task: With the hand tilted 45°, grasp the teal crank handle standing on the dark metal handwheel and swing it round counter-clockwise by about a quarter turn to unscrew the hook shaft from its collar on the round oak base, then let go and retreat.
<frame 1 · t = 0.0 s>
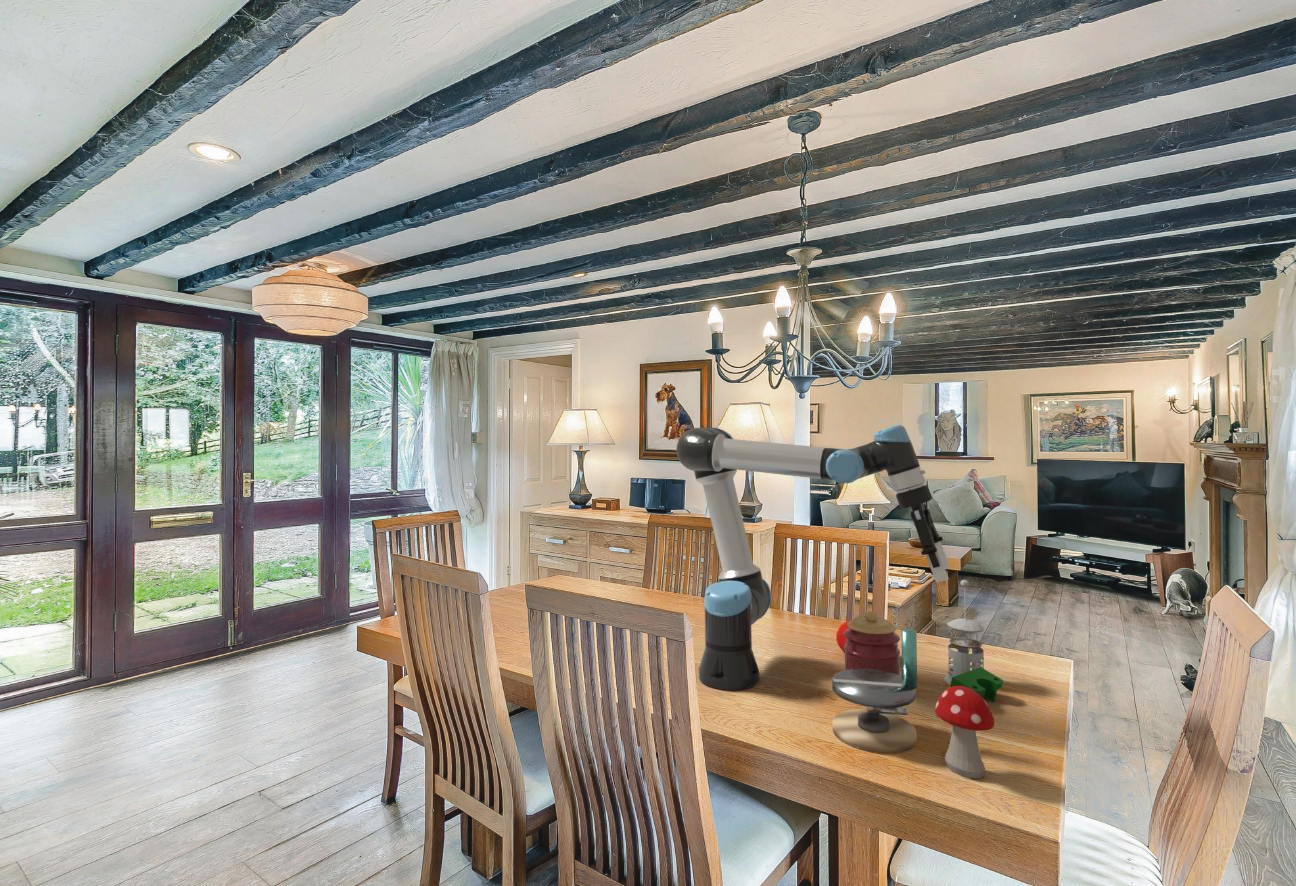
hand: (943, 574, 144), 28 cm above the table, tool tilted 20°, fingers open, 13 cm apart
handwheel: (873, 673, 125), point 12 cm above the table, hinge at 60.0°
decorative mushroom: (964, 771, 111), on the table
french press: (967, 681, 152), on the table
tomato: (860, 658, 169), on the table
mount: (873, 733, 126), on the table
canister: (872, 683, 151), on the table
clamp: (976, 701, 140), on the table
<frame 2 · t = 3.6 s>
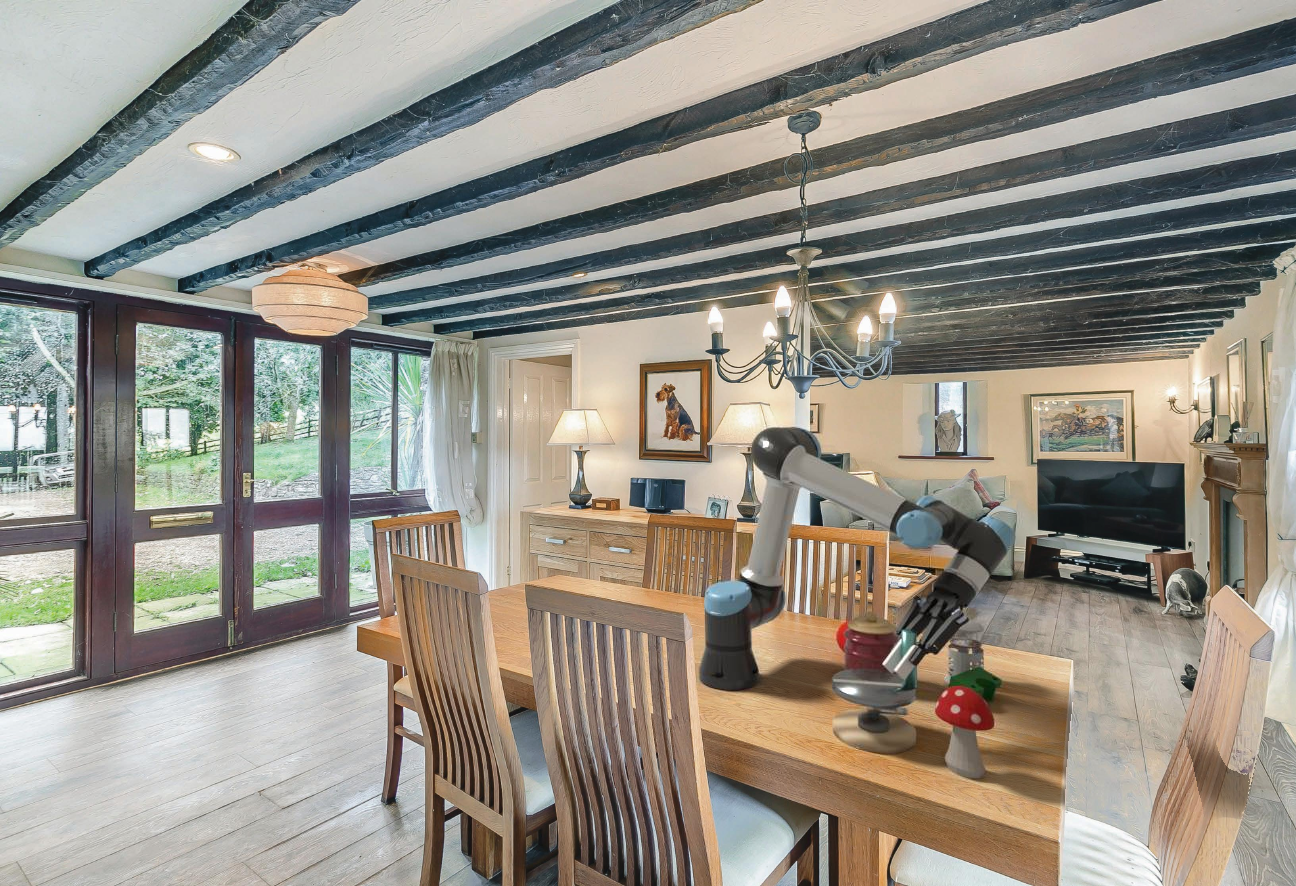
hand: (893, 671, 123), 14 cm above the table, tool tilted 45°, fingers closed on handwheel, 3 cm apart
handwheel: (873, 673, 125), point 12 cm above the table, hinge at 60.1°, touching gripper
everything else where it was.
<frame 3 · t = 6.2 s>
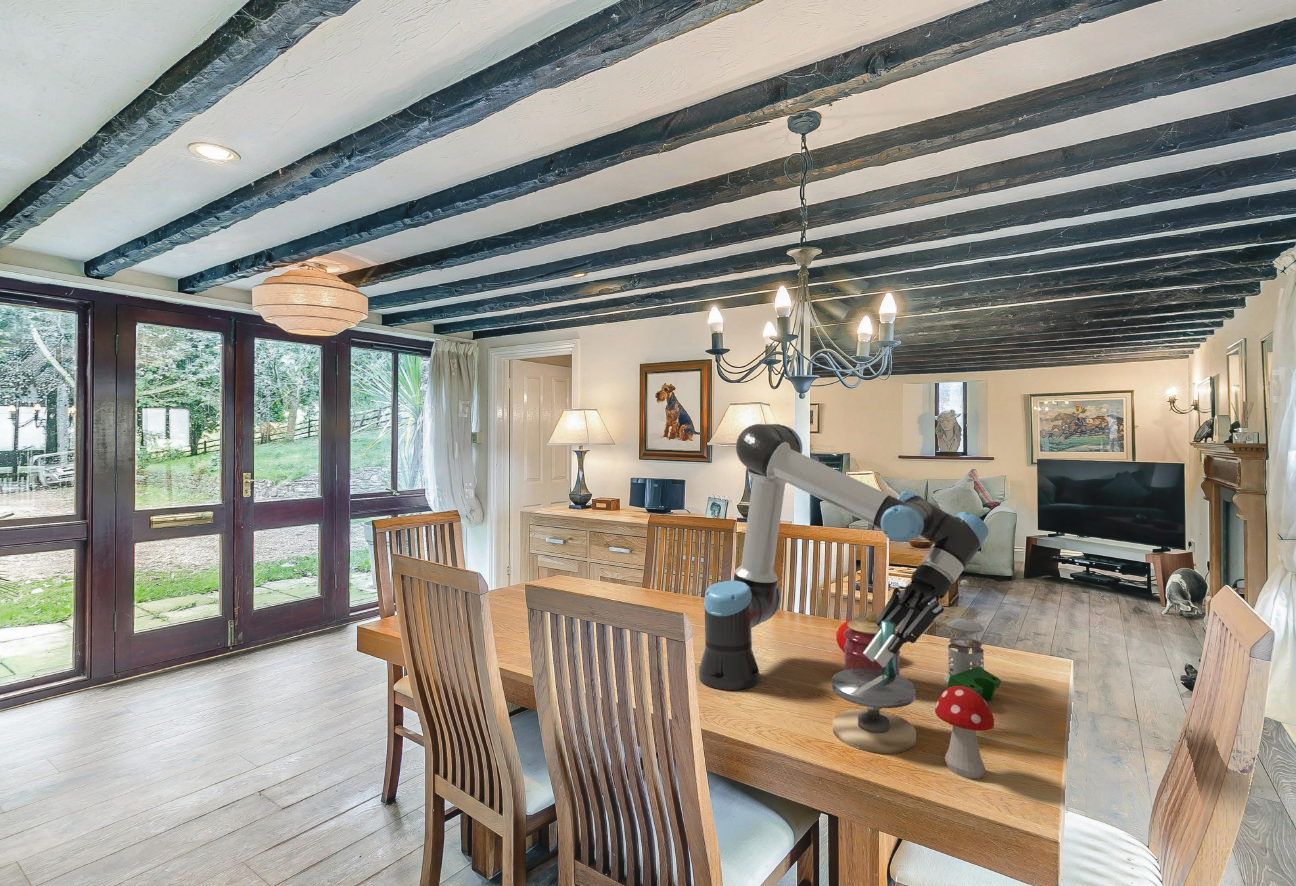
hand: (873, 659, 129), 14 cm above the table, tool tilted 45°, fingers closed on handwheel, 3 cm apart
handwheel: (873, 673, 126), point 12 cm above the table, hinge at 116.3°, touching gripper
everything else where it was.
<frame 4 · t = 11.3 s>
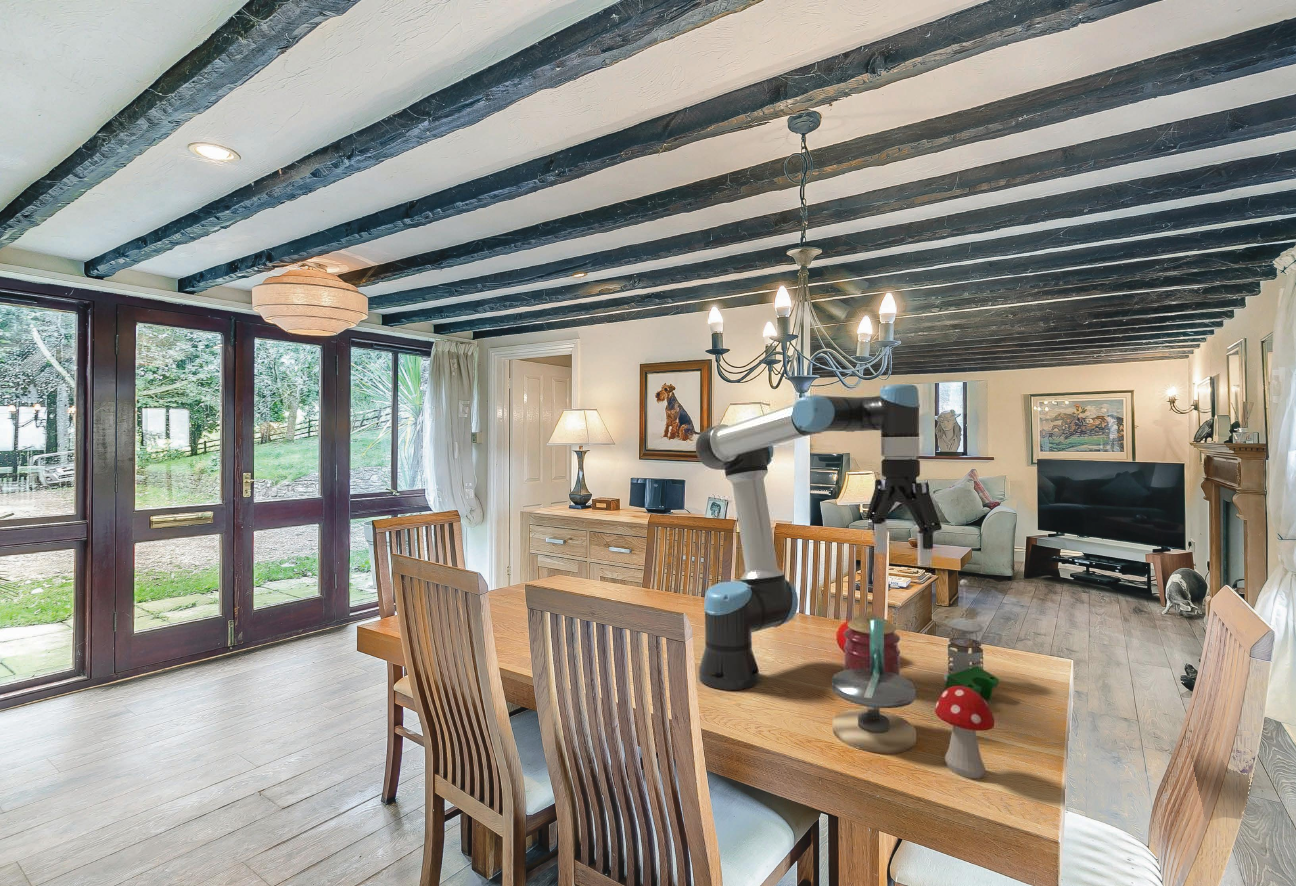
hand: (901, 558, 130), 35 cm above the table, tool pointing down, fingers open, 13 cm apart
handwheel: (872, 672, 126), point 12 cm above the table, hinge at 136.3°
everything else where it was.
at the end: handwheel at +136° (first picture: +60°); the gripper is holding nothing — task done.
